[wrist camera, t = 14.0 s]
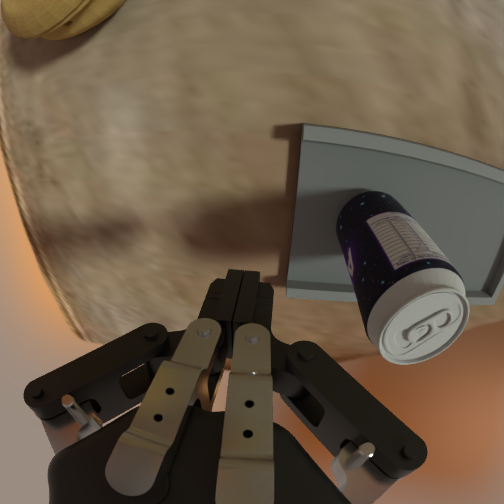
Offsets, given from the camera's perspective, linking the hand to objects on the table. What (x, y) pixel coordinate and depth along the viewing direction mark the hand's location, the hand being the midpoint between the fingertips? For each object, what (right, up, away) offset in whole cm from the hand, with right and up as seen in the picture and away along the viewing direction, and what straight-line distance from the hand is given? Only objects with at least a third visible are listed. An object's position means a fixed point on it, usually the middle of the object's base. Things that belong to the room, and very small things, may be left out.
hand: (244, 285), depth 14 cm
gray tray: (+16, +4, +8) cm, 18 cm away
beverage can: (+10, +4, +8) cm, 13 cm away
